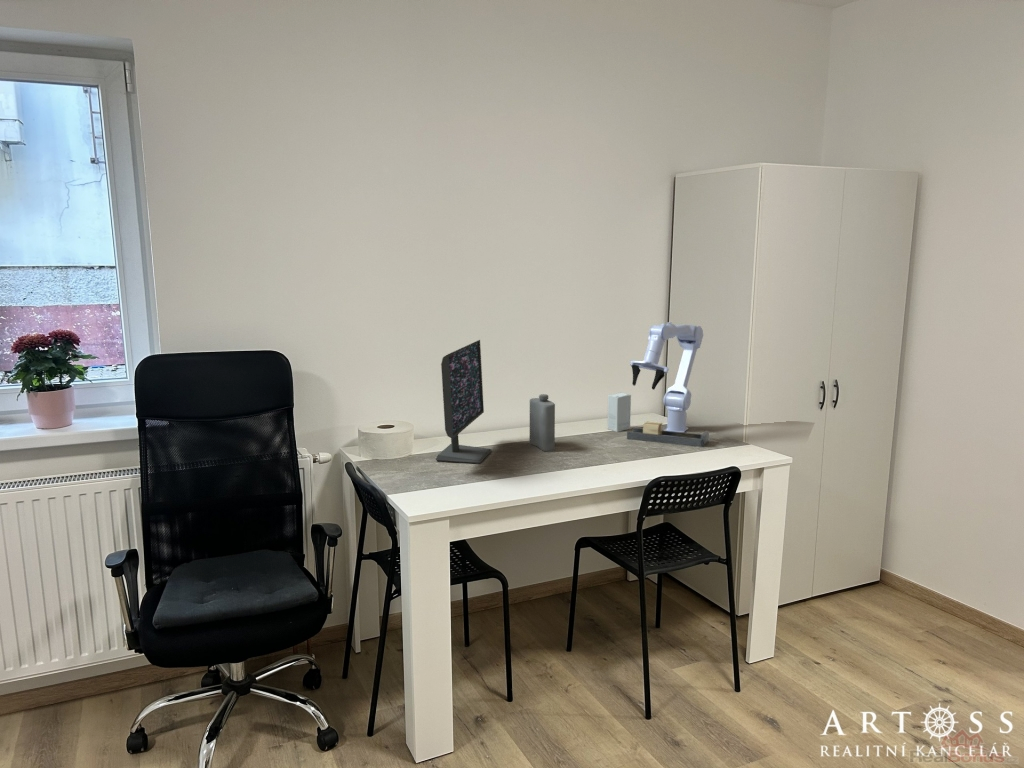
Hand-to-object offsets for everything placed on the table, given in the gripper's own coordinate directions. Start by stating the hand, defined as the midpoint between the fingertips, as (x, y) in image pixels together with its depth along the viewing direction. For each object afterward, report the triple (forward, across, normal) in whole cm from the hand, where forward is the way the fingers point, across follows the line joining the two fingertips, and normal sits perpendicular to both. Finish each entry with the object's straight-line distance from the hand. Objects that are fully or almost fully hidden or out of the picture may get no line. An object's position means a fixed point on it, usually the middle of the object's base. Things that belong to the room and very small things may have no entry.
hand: (643, 386), depth 291 cm
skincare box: (+12, -13, +28) cm, 33 cm away
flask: (+33, -29, -6) cm, 45 cm away
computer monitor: (+48, -48, -28) cm, 73 cm away
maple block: (+14, +4, +18) cm, 23 cm away
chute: (+14, +10, +18) cm, 25 cm away
